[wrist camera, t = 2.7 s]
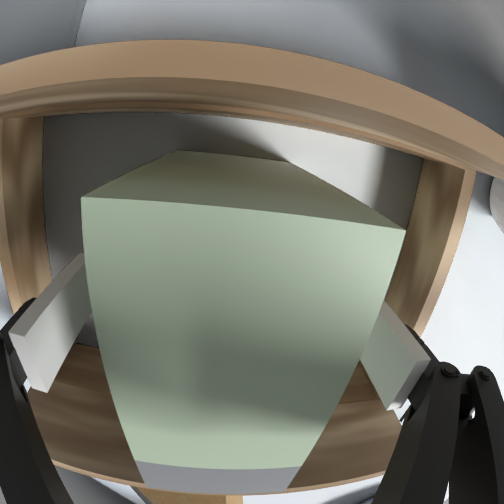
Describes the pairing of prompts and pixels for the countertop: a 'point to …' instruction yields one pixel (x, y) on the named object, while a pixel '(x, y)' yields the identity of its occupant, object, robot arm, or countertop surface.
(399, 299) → the wooden display shelf
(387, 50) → the countertop surface
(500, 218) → the soap bottle
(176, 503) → the sandwich container
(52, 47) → the slate mat
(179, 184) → the capped box
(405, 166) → the countertop surface
